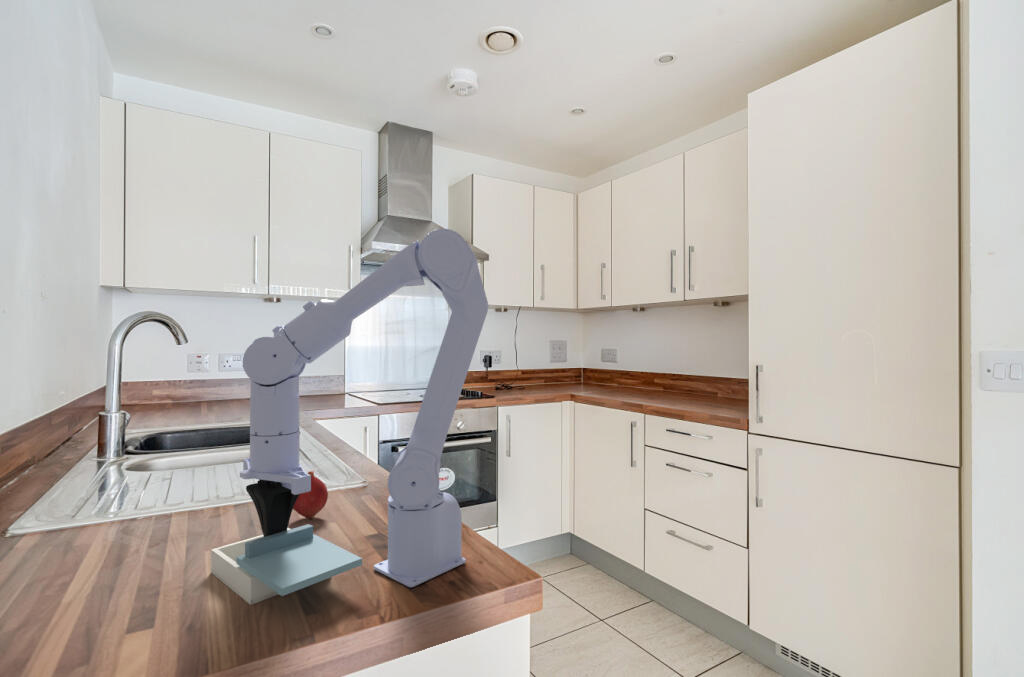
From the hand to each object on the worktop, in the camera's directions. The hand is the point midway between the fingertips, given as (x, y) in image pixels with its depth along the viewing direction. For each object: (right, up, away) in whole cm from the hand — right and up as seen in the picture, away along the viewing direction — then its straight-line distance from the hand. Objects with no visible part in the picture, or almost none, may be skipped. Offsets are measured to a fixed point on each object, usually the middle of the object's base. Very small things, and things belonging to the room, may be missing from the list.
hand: (274, 538), depth 64 cm
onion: (-4, -5, +20) cm, 21 cm away
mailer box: (-1, -5, +1) cm, 5 cm away
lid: (+5, -1, -4) cm, 6 cm away
